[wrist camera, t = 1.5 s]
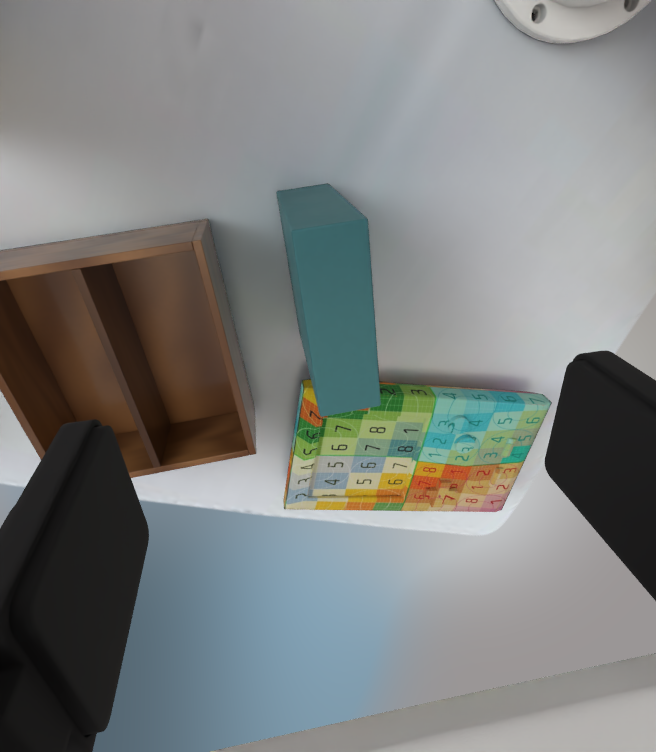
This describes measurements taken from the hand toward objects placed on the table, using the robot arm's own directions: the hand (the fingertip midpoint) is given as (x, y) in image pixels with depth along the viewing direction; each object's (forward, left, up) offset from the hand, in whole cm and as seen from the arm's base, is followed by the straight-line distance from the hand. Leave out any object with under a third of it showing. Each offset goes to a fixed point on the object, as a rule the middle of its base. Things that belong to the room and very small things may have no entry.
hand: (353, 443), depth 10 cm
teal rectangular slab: (-2, +3, -24) cm, 24 cm away
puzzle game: (-8, +19, -24) cm, 32 cm away
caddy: (+11, +7, -24) cm, 27 cm away
